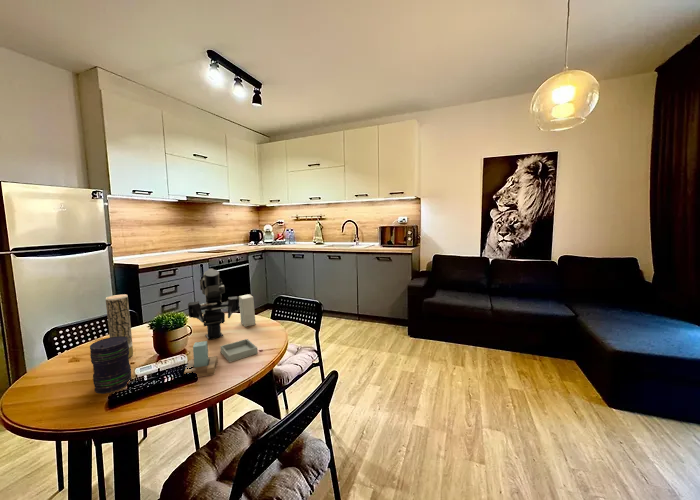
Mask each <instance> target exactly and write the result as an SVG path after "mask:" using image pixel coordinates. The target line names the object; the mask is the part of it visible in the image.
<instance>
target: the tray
mask: <svg viewBox="0 0 700 500" xmlns="http://www.w3.org/2000/svg"><path fill="white" fill-rule="evenodd" d="M219 347H220V353H221V355H223V357H224V358H225V359H226V360H227V363H231V362H235V361H238V360H241V359H244V358H247V357H250V356H255V355H257V354H258V347H257V346H256V344H254V343H253V342H252V341H251V340H249V338H245V339H241V340H238V341H235V342H230V343H226V344H223V345H220V346H219Z"/></svg>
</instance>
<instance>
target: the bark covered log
mask: <svg viewBox="0 0 700 500" xmlns="http://www.w3.org/2000/svg"><path fill="white" fill-rule="evenodd" d="M105 305H106V314H107V325H108V333H109V334H108V335H109V338H110V337H117V336H125V337H127V338H128V345H129V355H128V356H129V358H131V357H132V356H133V355H134V348H133V347H134V346H133V337H132V325H131V315H130V314H131V313H130V306H129V297H128V294H125V293H124V294H123V293H122V294H116V295H110V296H106V297H105Z"/></svg>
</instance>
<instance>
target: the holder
mask: <svg viewBox="0 0 700 500" xmlns="http://www.w3.org/2000/svg"><path fill="white" fill-rule="evenodd" d="M218 359H219V358H218V355H213V356H208V360H209V364H208V366H203V367H196V368H192V369H189V368H191V367H194V358H192V359H189V361H188V363H187V365H186V367H185V369H184V372H183V375H184V374H186V373H192V372H193V373H196V374H197V377H196V378H199V377H206V376H213V375H215V374H216V369H217V365H218V363H219V362H218V361H219V360H218ZM187 368H188V369H187Z"/></svg>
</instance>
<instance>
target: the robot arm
mask: <svg viewBox="0 0 700 500" xmlns="http://www.w3.org/2000/svg"><path fill="white" fill-rule="evenodd" d="M199 287H200V288H199V289H200V291H201V292H202V293H201V294H202V295H205V303H201V304H200V301H190V302H188V304H187V307H188V308H187V309H188V310H187V311H188V317H189V318H193V319H197V320H198V321H200V322H201V323H202V324H203V327H206V331H207V333H206V334H205V337H206V338H207V341H209V340H214V339H219V338H221V337H224V334H223V333H222V331H221V330H222V328H221V327H222V326H221V324H225V322H226V320H225V319H226V313H225V312H224V310H223V309H227V318H228V319H230V318H231V317H232V315H233V313H235V312H236V311H237V312H238V311H240V305H239V296H228V298H227V302H222V300H223V299H222V294H225V293H226V289H225V288H226V287H225V284H223V279H221V278H220V271H219V270H217V269H214V268H208V270H206V271H204V273H203V277H202V278H201V279H199ZM202 311H203V312H202Z"/></svg>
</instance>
